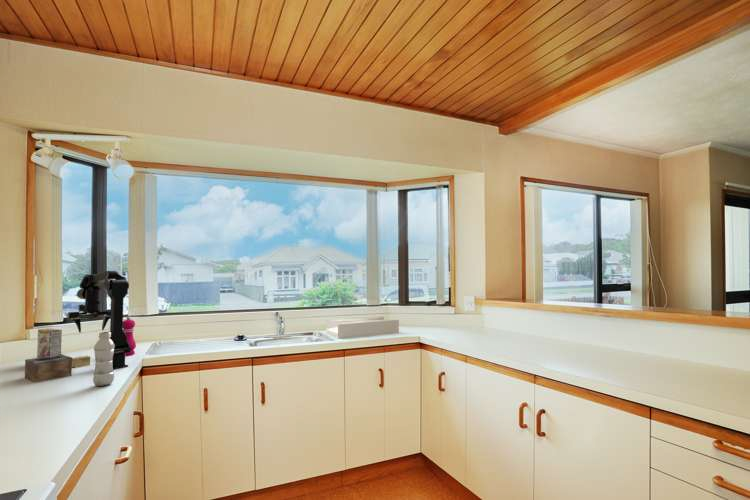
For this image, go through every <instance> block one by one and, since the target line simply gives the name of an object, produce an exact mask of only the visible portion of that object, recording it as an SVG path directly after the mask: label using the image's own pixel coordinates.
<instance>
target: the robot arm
mask: <svg viewBox="0 0 750 500" xmlns="http://www.w3.org/2000/svg"><path fill="white" fill-rule="evenodd" d="M102 285H103V286H104V288H105V289H106V294H107V295H108V297H109V299H110V309H104V310H101V311H100V302H101V301H100V294H101V293H100V291H101V290H102V288H101V286H102ZM129 289H130V283H129V281H128V280H127V279H126V277H125V276H123V275H121V274H120V273H119V272H118V271H116V270H106V271H104V272H100V273H96V274H85V275H84V277H82V280H81V281H80V283H79V290H78V291H77V292H76V296H77V298H78V299H80V300H84V304H78V311H69V312H67V315H66V316H67V317H66V318H67V319H70V320H71V321H73V322H74V323H75V325H76V327H77V330H78V332H79V334H80V333H81V332H82V325H81V324H82V323H81V318H80V317H91V316H102V326H101V331H104V330H105V328H106V326H107V323H108V321H109V320H110V321H109V322H110V325H109V332H111V337H110V339H111V340H112V341H113V343H114V345H115V347H114V353H113V359H112V360H113V362H112V364H113V370H117V369H121V368H126V367H129V365H128V364H126V356H125V353H128V352H130V351H131V347H130V345H129V343H128V340H127V335H126V334H125V333H124V331H123V321H124V299H125V297H126V296H127V294H128V293H129Z"/></svg>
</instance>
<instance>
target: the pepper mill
mask: <svg viewBox="0 0 750 500" xmlns="http://www.w3.org/2000/svg"><path fill="white" fill-rule="evenodd" d="M135 326H136V322H135V320H133V319H132V318H131V316H126V319H125V320H123V331H124V333H125V334H126V335H127V340H128V343H129V345H130V347H131V351H130V352H128V353H125V357H131V356H134V355H135V353H136V352H135V351H136V350H135V349H136V348H137V344H136V341H135V338H134V334H133V333H134V332H135V331H134V330H135Z"/></svg>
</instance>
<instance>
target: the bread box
mask: <svg viewBox="0 0 750 500" xmlns="http://www.w3.org/2000/svg"><path fill="white" fill-rule="evenodd" d="M384 318H385V317H384V316H377V317H376V316H375V317H361V318H359V317H358V318H347V319H346V318H345V319H332V320H331V319H329V320H326V324H325V325H326V329H325V330H326V332H325V333H326V335H329V336H331V337H334V338H336V339H351V338H359V337H369V336H371V335H372V336H381V335H380V334H383V335H389V334H390V335H391V334H393V333H394V334H400V332H399V331H400V323H399V319H384Z"/></svg>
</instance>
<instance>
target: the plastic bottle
mask: <svg viewBox="0 0 750 500" xmlns="http://www.w3.org/2000/svg"><path fill="white" fill-rule="evenodd" d="M110 337H111V332H110V331H102V332H99V334H98V340H97V341H96V342H95V344H94V346H93V350H94V358H95V359H94V360H95V361H94V362H95V367H94V374H93V378H92V382H93V385H94V386H95V387H97V386H98V387H99V386H100V387H103V386H107V385H111V384H112V383H113V382H114V381H115V372H114V369H113V364H112V362H113V360H112V359H113V353H114V347H115V345H114V343H113V341H112V340H111V339H110Z"/></svg>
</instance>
